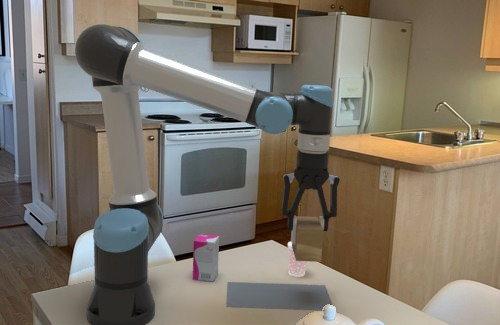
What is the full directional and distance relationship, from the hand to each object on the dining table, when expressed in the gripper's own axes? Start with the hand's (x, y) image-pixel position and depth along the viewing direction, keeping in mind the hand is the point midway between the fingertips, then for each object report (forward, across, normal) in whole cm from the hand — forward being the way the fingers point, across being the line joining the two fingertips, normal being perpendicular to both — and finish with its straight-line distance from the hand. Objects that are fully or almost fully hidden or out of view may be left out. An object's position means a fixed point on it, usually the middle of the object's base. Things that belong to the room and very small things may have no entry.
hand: (306, 242), depth 128 cm
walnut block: (+3, 0, 0) cm, 3 cm away
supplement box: (+15, -25, +10) cm, 31 cm away
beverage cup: (+15, 0, +14) cm, 21 cm away
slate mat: (+15, -6, 0) cm, 16 cm away
